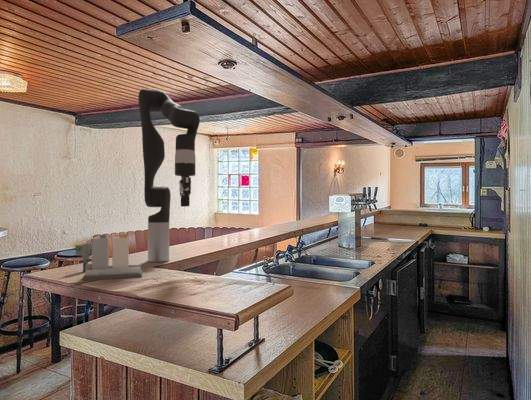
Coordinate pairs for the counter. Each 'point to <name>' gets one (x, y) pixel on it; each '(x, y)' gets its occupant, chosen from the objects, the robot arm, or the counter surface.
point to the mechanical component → (84, 253)
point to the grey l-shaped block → (106, 263)
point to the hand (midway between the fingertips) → (184, 206)
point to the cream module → (120, 252)
